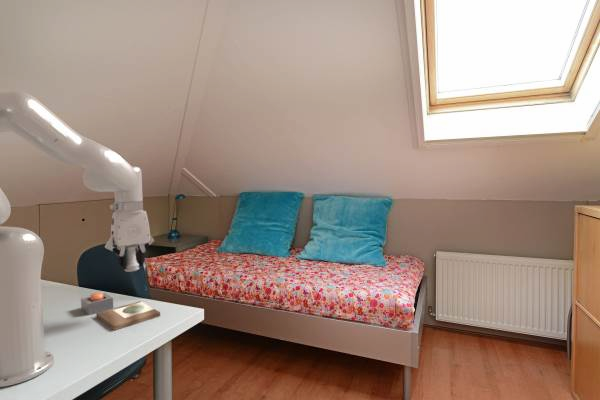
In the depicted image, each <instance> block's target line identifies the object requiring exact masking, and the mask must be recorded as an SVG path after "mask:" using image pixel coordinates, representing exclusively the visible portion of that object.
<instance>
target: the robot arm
mask: <svg viewBox="0 0 600 400" xmlns="http://www.w3.org/2000/svg"><path fill="white" fill-rule="evenodd" d="M11 132H12V133H14V134H16V135H17V136H19V137H20V138H22V139H23V140H24V141H26V142H27V143H29V144H30V145H32V146H33V147H35V148H36V149H37V150H39V151H40V152H42V153H43V154H44V155H45V156H47V157H48V158H50V159H51V160H54V161H57V162H60V163H63V164H65V165H66V164H67V165H70V166H76V167H80V168H83V169H85V171H84V172H83V175H82V181H83V184H84V186H85V187H86V188H87V189H89V190H91V191H94V192H99V193H103V192H104V193H108V192H109V193H112V192H113V193H114V202H113V203H112V204H109V209H110V210H114V212H113V213H112V216H111V217H112V218H111V224H110V237H109V239H108V241H107V242H106V243H105V245H104V248H105V249H107V250H109V251H111V252H112V253H114V254H115V255H117V260H118V263H117V264H118V267H119V268H120V269H122V270H124V269H126V260H127V255H125V253H126V252H125V250H126V248H125V247H126V246H131V245H136V246H137V247H136V249H137V251H136V259H137V261H138V263H139V267H142V266H144V262H145V253H146V251H147V249H148V248H149V247H150V245H152V244H153V243H154V242H155V239H154V237H153V236H152V234H151V232H150V231H151V230H150V223H149V218H148V214H147V210H144V204H143V202H144V201H143V200H144V199H143V179H142V178H143V175H142V174H143V173H142V169H141V167H139V166H136V165H135V166H132V165H131V164H130V163H129V162H127V160H126V159H124V158H123V157H122V156H121V155H120V154H118V153H117V152H116V151H114V150H112V149H111V148H109V147H107V146H104V145H103V144H101V143H98V142H96V141H95V140H93V139H90V138H88V137H86V136H83V135H81V134H80V133H78V132H77V131H76V130H74V129H73V128H71V126H70V125H68V124H67V123H65V121H63V120H62V118H60V117H59V116H58V115H56V114H55V113H54V112H53V111H51V109H49V108H48V107H47V106H45V105H44V104H43V103H42V102H41V101H40V100H39V99H37V98H36V97H34V96H33V95H31V94H30V93H27V92H24V91H20V90H19V91H15V90H12V91H3V92H0V133H11ZM11 209H12V208H11V203H10V201H9V199H8V197H7V196H6V194H5V193H4V191H3V189H2V188H1V187H0V388H4V387H9V386H14V385H16V384H21V383H23V382H27V381H29V380H31V379H33V378H36V377H38V376H39V375H42V374H43V373H45V372H46V371H47V370H49V369H50V368H51V367H52V365H53V364H54V362H55V361H54V360H55V356H54V354H53V353H51V352H48V351H46V349H45V336H44V335H45V334H44V317H43V316H44V315H43V302H42V301H43V300H42V298H43V297H42V287H41V286H42V285H41V282H42V281H41V278H42V277H41V276H42V275H41V274H42V265H43V261H44V255H45V248H44V242H43V240H42V239H41V237H40V236H39V235H38V234H37V233H36V232H34V231H32V230H29V229H27V228H25V227H24V228H23V227H17V226H5V225H4V226H1V225H3V224H4V223H5V222H6V221H7V220H8V219H9V218H10V215H11V212H12V210H11ZM115 246H117V247H115Z"/></svg>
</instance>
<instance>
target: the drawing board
mask: <svg viewBox="0 0 600 400" xmlns="http://www.w3.org/2000/svg"><path fill="white" fill-rule="evenodd" d="M95 314H96V315H95V316H96V318H97V319H98V320H100V321H101V322H102V323H104V324H105V325H106V326H108V327H109V328H110V329H112V330H113V331H119V330H121V329H123V328H127V327H130V326H134V325H136V324H139V323H144V322H146V321H149V320H152V319H155V317H156V318H158V317H161V312H160V311H159V310H157V309H156V308H154V307H152V306H150V305H148V304H146V303H145V302H143V301H140V300H139V301H136V302H132V303H128V304H125V305H121V306H118V307H113V308H112V309H109V310H105V311H101V312H98V313H95Z"/></svg>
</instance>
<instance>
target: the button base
mask: <svg viewBox="0 0 600 400" xmlns="http://www.w3.org/2000/svg"><path fill="white" fill-rule="evenodd" d="M102 293H103V299H101V300H97V301H93V302H91V301H90V296H87V297H82V298H80V305H81V306H80V307H81V310H82V311H83V312H84V313H86V314H87V315H88V316H89V315H90V316H91V315H93V314H96V313H99V312H102V311H106V310H110V309H113V308H114V297H112V296H110V295H109V294H107V293H105V292H102Z"/></svg>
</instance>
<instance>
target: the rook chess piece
mask: <svg viewBox="0 0 600 400" xmlns="http://www.w3.org/2000/svg"><path fill="white" fill-rule="evenodd" d="M136 249H137V245H131V246H125V250H126V252H125V253H126V269H123V270H124V271H125V272H136V271H138V270H140V267H141V266H140V265H139V263H138V261H137V259H136V253H137V251H136Z"/></svg>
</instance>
